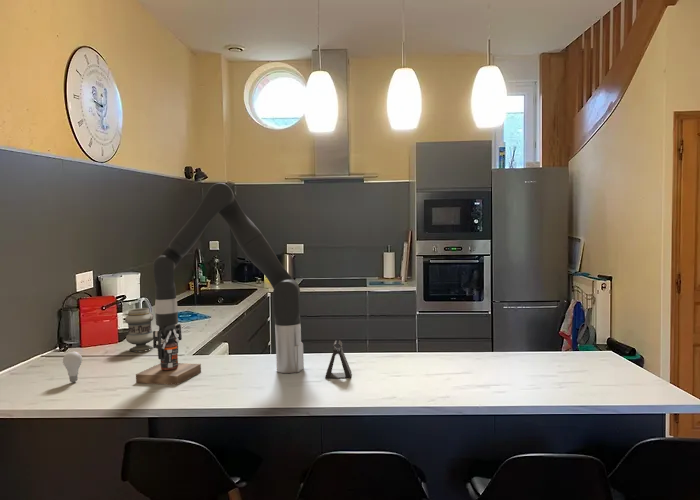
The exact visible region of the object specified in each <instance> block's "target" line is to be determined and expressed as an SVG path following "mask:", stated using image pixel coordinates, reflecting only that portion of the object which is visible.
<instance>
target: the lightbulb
mask: <svg viewBox="0 0 700 500" xmlns="http://www.w3.org/2000/svg"><path fill="white" fill-rule="evenodd" d="M62 358H63V359H62V364H63V366H64V367H65V369H66V371H67V375H68V379H69V382H71V383H73V384H74V383H76V382H77V381H78V378H79V377H78V375H79V369H80V367H81V365H82V362H83V356H82V355H81V354H80V352H77V351H69V352H66V354H64V356H63V357H62Z"/></svg>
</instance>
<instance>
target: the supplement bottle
mask: <svg viewBox="0 0 700 500" xmlns="http://www.w3.org/2000/svg"><path fill="white" fill-rule="evenodd" d="M161 345H162V343H161ZM164 349H165V359H163V360H162V359H159V360H160V363H161V369H162V370H174V369H177V368H178V363H179V357H178V355H179V349H178V350H177V343H175V342H174V337H171V338H169V339H168V342H167V343H166V344H165V347H164Z"/></svg>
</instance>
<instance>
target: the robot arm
mask: <svg viewBox="0 0 700 500" xmlns="http://www.w3.org/2000/svg"><path fill="white" fill-rule="evenodd" d="M192 214H193V215H192V216H191V217H190V218H189V219H188V220H187V221H186V222H185V224H184V225H183V226H182V227H181V228H180V229H179V231H178V232H177V233H176V234H175V236H174V237H173V238H172V240H171V241H170V242H169V244H168V246H166V248H165V249H164V250H163V252H161V254H160V255H159V256H158V257H157V258H155V259H154V261H153V264H152V265H153V266H152V270H153V277H154V280H153V281H154V284H155V285H154V292H155V293H154V295H155V297H154V298H155V304H154V313H155V325H156V326H157V327H158V330H152V331H153V340H152V341H153V342H152V344H153V345H152V347H153V349H157V358H158V360H160V359H162V360H163V359H165V349H164V347H165V344H166V343H167V342H168V339H169V338H171V337H174V342H175V343H177V350H178V351H179V343H180V341H182V340H183V337H182V335H183V334H182V326H181V323H180V324H179V315H178V312H179V311H178V300H177V290H176V283H175V270H176V269H177V268H176V267H177V266H178V265H179V263H180V262H181V260H182V259H184V257H185V256H186V255H187V254H188V253H189V252H190V250H191V249H192V248H193V247H194V246H195V244H196V243H197V242H198V241H199V239H200V238H201V236H202V234H203V233H204V231H205V230H206V228H207V227H208V225H209V223H211V221H212V220H213V219H214V218H215V216H217V214H219V216H221V218H222V219H223V220H224V221H225V223H226V224H227V225H228V227H229V229H230V230H231V233H232V235H233V237H234V239H235V241H236V242H237V244H238V245H239V248H240V249H241V251H242V252H243V253H244V255H245V256H246V257H247V259H248V260H249V261H250V262H251V263H252V264H253V265H254V266H255V267H256V268H257V269H258V270H259V271H260V272H261V273H262V274H263V275H264V276H265V278H266V279H267V281H268V282H269V283H270V285H271V287H272V289H273V290H272V306H273V317H274V328H275V329H274V330H275V331H274V332H275V356H276V357H275V358H276V371H277V373H282V374H292V373H300V372H301V371H302V370H303V369H304V368H305V363H304V361H305V359H304V343H303V342H302V332H301V331H302V328H301V326H302V325H301V313H300V298H299V297H300V294H301V289H300V285H299V284H298V283H297V281H296V280H295V279H294V278H293V277H292V275H291V274H290V273H289V272H288V271H287V270H286V269H285V268H284V266H283V265H282V263H281V261H280V260H279V259H278V256H277V255H276V253H275V251H274V249H273V248H272V247H271V245H270V243H269V242H268V240H267V239H266V238H265V236H264V235H263V233H262V232H261V230H260V229H259V228H258V227H257V225H255V223H254V222H253V221H252V220H251V219H250V218H249V217H248V216H247V215H246V213H245V212H244V210H243V209H242V208H241V205H240V204H239V202H238V200H237V198H236V197H235V194H234V192H233V189H232V188H231V187H230V186H229V185H227V184H226V183H224V182H218V183H215V184H212V185H211V186H210V187H209V188H208V190H207V192H206V194H205V196H204V197H203V199H202V201H201V203H200V204H199V206H198V207H197V209H196V210H195V212H194V213H192ZM161 344H162V345H161Z"/></svg>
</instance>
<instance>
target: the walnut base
mask: <svg viewBox="0 0 700 500" xmlns="http://www.w3.org/2000/svg"><path fill="white" fill-rule="evenodd" d="M201 365H202V364H201V363H188V362H187V363H186V362H184V363H183V362H182V363H181V362H178V368H177V369H174V370H162V369H161V362H160V363H158V364H156V365H153V366H151V367H149V368H147V369H144V370H142V371H140V372H138V373H136V374H135V383H136V384H152V385H153V384H154V385H155V384H156V385H173V386H175V385H176V386H178V385H179V384H182V383H183V382H185V381H187V380H189V379H191V378H192V377H194V376H196V375H198V374H201V373H202V366H201Z"/></svg>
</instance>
